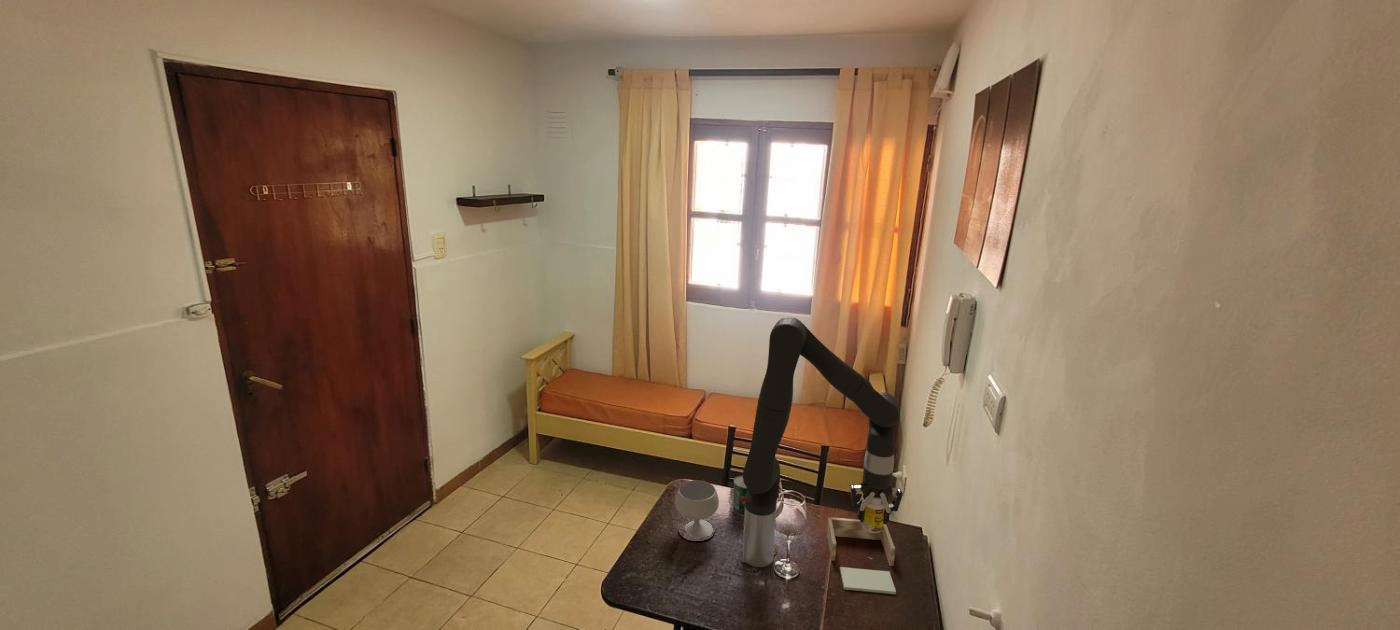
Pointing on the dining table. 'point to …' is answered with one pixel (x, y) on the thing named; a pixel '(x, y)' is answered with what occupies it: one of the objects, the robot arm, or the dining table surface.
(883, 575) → the mat
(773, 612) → the dining table surface
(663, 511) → the dining table surface
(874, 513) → the supplement bottle
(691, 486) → the chalice
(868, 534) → the cubby
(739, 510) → the canned tomato
